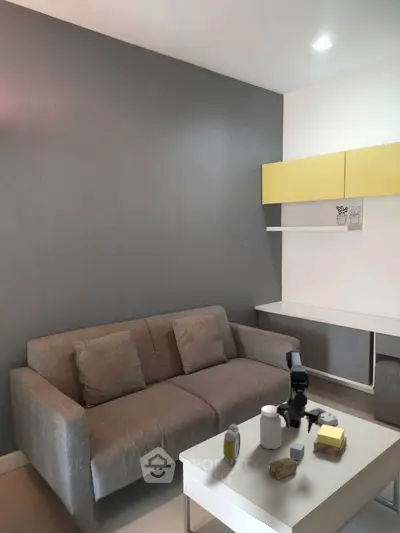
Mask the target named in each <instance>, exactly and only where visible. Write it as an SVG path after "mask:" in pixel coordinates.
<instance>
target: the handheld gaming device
mask: <svg viewBox="0 0 400 533" xmlns="http://www.w3.org/2000/svg"><path fill="white" fill-rule="evenodd" d="M311 410H316V411H320V413H321V418H320V420H319V421H318V422H317V423H318V424H320V425H321V426H322V425H323V424H324V425H328V426H332V427H334V426H335V425H337V424H338V423H339V421H338V420H339V419H338V417H337V416H336V415H334V414H332V413H330V412H329V411H327V410H325V409H323V408H321V407H319V406H317V407H315V408H311V409H309V410H308V409H307V410H306V411H307V412H311ZM306 417H307V418H309V417H308V416H306Z"/></svg>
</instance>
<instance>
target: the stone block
mask: <svg viewBox="0 0 400 533" xmlns="http://www.w3.org/2000/svg"><path fill="white" fill-rule="evenodd" d="M297 468H298V464H297V461H296V460H295V459H293V458H290V457H287V456H286V457H283V458H281V459H278V460H276V461H273V462H270V463H269V475H270V476H271V477H272V478H274V479H275V480H280V479H283V478H286V477H288V476H290V475H293V474H296V472H297V471H298V470H297Z"/></svg>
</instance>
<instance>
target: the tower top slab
mask: <svg viewBox="0 0 400 533" xmlns="http://www.w3.org/2000/svg"><path fill="white" fill-rule="evenodd" d="M316 435H317V437H316V438H317V442H320V443H324V444H327V445H331V446H335V447H339V448H340V446H341V443H342V441H343V439H344V437H345V429H344V428H340V427H337V426H328V425H324V424H323V425H322V424H321V427H320V429H319V430H318V432H317V434H316Z"/></svg>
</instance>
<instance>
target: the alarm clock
mask: <svg viewBox="0 0 400 533" xmlns="http://www.w3.org/2000/svg"><path fill="white" fill-rule="evenodd" d="M222 446H223V447H222V450H223V457H224V458H225V459H230V466H231V467H233V466H234V461H235V460H237V459H238V458H239V455H240V450H241V432H240V429H239V426H237V425H236V423H233V424H230V425H229V426H228V428H227V431H226V432H225V434H224V439H223V445H222ZM224 458H223V459H224Z"/></svg>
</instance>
